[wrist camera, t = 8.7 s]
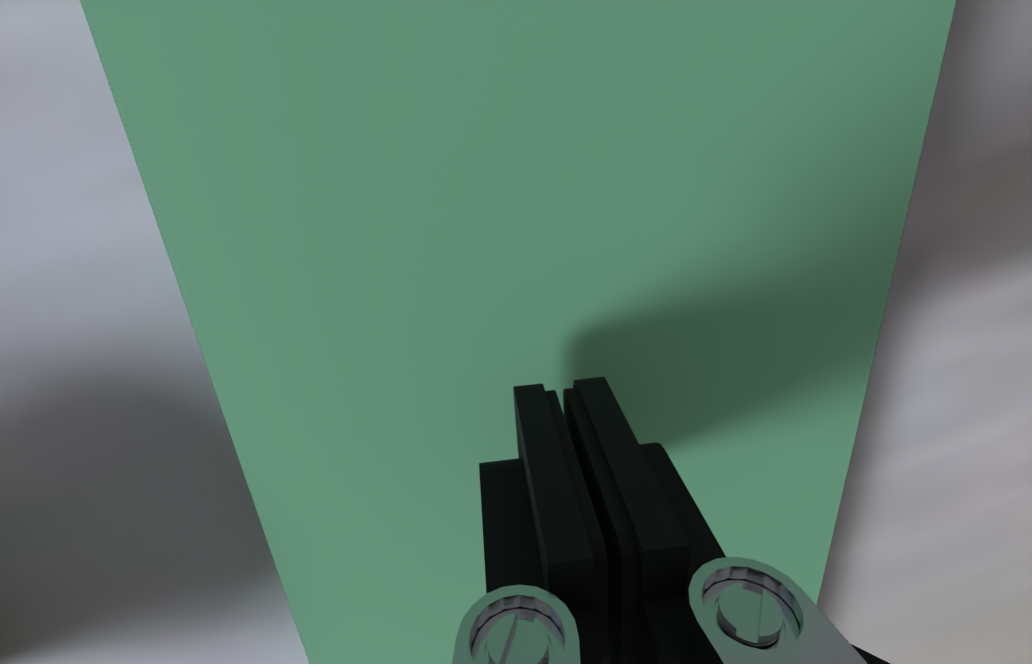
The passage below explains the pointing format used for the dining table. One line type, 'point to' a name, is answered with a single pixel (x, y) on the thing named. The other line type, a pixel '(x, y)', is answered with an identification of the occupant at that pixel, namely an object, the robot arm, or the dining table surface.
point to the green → (522, 258)
